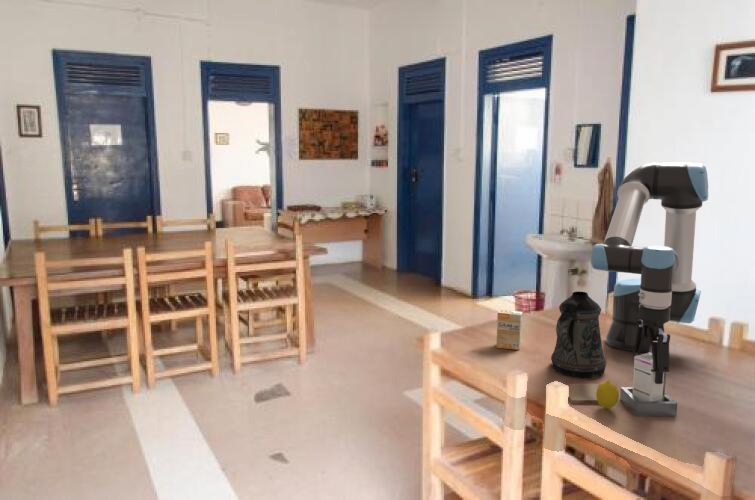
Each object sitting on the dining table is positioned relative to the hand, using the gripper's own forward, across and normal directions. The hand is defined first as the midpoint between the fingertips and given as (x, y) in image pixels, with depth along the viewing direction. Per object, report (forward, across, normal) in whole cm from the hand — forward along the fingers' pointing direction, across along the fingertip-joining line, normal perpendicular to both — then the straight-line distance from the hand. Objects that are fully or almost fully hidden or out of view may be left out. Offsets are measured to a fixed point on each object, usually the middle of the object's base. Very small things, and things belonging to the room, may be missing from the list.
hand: (648, 387), depth 153 cm
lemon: (+6, +1, -11) cm, 13 cm away
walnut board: (+6, -8, -14) cm, 17 cm away
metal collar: (+6, 0, 0) cm, 6 cm away
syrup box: (+6, 0, 0) cm, 6 cm away
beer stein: (+6, -26, -10) cm, 28 cm away
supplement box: (+6, -48, -27) cm, 55 cm away
